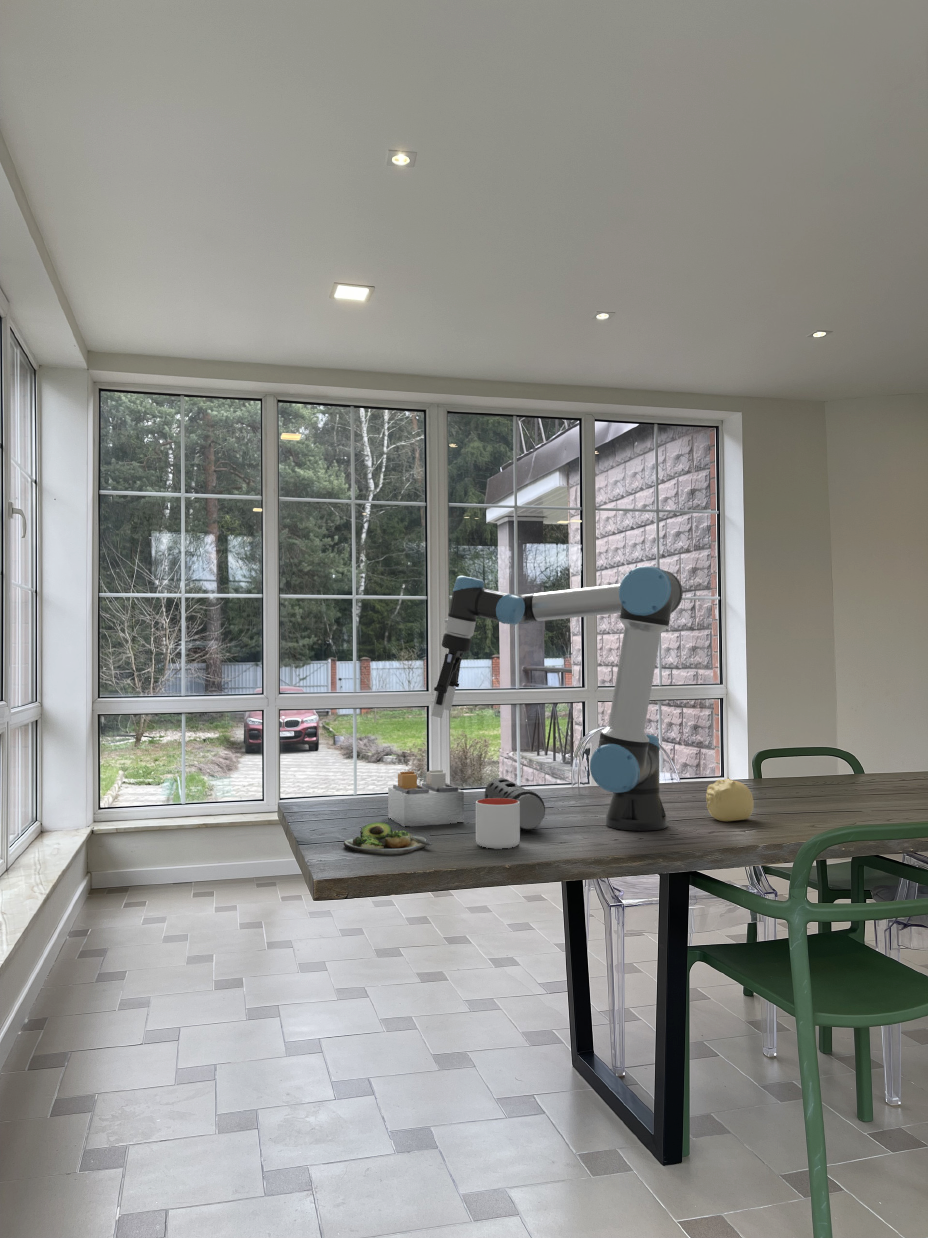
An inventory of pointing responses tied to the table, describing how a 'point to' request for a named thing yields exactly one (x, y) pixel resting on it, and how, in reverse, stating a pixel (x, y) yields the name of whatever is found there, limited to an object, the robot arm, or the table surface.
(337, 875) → the table surface
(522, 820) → the muzzle brake
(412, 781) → the toggle orange
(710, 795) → the sculpture
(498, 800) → the cup
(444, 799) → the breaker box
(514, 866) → the table surface
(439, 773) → the toggle white
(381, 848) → the salad plate
